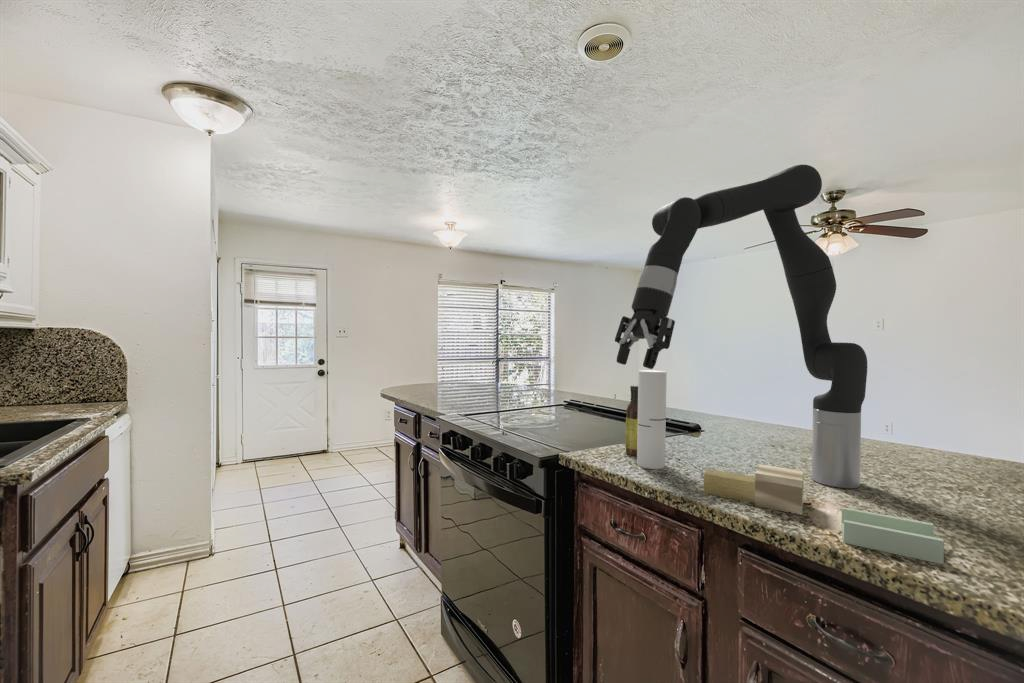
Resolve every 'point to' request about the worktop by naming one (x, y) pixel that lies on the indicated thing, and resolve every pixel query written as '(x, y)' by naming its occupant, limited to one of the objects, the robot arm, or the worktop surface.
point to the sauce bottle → (632, 423)
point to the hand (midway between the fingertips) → (633, 365)
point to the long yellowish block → (731, 485)
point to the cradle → (892, 535)
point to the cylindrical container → (651, 419)
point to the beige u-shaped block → (779, 488)
